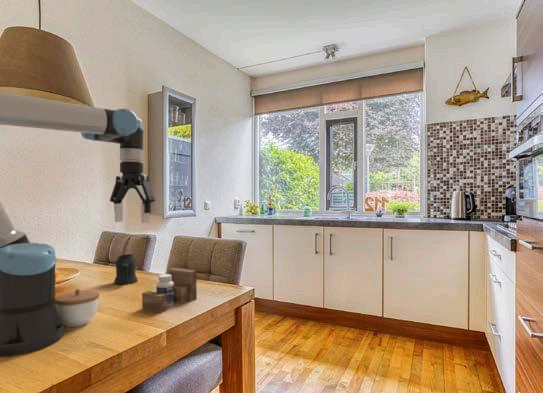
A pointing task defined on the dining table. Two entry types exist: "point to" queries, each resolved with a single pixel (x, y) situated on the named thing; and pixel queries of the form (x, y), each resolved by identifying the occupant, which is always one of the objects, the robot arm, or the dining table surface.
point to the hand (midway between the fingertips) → (131, 222)
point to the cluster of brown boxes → (182, 291)
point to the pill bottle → (166, 288)
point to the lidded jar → (77, 307)
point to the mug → (125, 270)
